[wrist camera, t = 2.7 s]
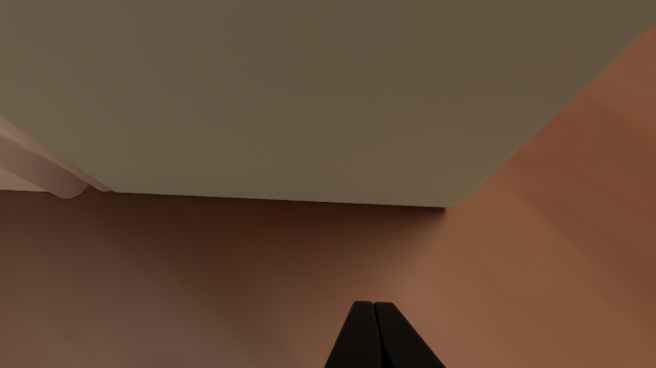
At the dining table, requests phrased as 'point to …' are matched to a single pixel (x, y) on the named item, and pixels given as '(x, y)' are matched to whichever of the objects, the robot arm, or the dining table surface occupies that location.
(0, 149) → the fence fixed section
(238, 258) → the dining table surface
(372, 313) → the robot arm
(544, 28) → the panel
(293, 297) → the dining table surface
